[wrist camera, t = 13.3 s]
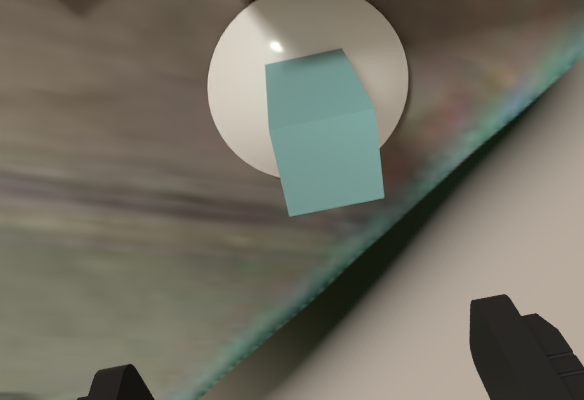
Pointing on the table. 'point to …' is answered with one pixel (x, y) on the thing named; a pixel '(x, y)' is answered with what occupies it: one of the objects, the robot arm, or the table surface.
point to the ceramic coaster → (293, 44)
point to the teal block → (322, 133)
